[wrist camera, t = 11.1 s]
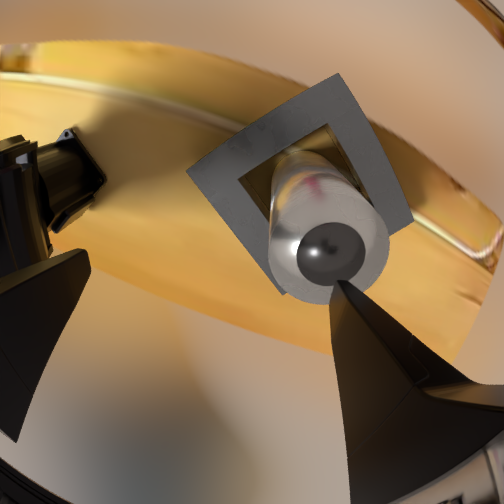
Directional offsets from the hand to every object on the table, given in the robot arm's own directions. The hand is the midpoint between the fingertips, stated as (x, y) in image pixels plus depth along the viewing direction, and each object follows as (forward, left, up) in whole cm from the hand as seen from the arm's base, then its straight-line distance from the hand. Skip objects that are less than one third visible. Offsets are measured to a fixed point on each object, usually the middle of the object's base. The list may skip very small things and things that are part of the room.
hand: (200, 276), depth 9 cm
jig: (+3, +4, -13) cm, 14 cm away
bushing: (+3, +4, -13) cm, 14 cm away
